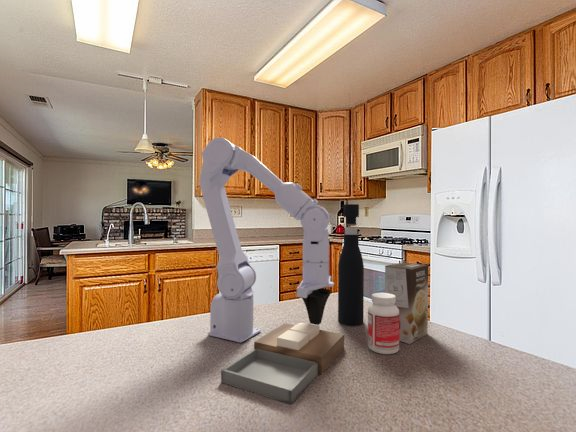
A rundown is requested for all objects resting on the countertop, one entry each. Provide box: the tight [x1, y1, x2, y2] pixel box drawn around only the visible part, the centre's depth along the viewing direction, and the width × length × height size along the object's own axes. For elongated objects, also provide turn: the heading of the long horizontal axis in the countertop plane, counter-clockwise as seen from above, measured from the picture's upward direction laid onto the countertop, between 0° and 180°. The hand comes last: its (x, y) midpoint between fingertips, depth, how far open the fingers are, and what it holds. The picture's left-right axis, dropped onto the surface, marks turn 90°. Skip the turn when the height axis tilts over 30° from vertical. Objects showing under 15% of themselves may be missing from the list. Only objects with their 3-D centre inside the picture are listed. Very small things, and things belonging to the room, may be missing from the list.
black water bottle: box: [337, 203, 365, 327], centre depth 84 cm, size 6×6×30 cm
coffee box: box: [384, 262, 429, 345], centre depth 75 cm, size 9×6×16 cm
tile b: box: [277, 330, 309, 350], centre depth 62 cm, size 4×4×2 cm
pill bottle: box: [367, 292, 400, 355], centre depth 67 cm, size 6×6×11 cm
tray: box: [220, 348, 319, 405], centre depth 55 cm, size 13×10×2 cm
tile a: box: [290, 322, 320, 340], centre depth 67 cm, size 4×4×2 cm
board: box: [253, 322, 345, 375], centre depth 65 cm, size 14×12×3 cm
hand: (315, 323), depth 72 cm, fingers closed
